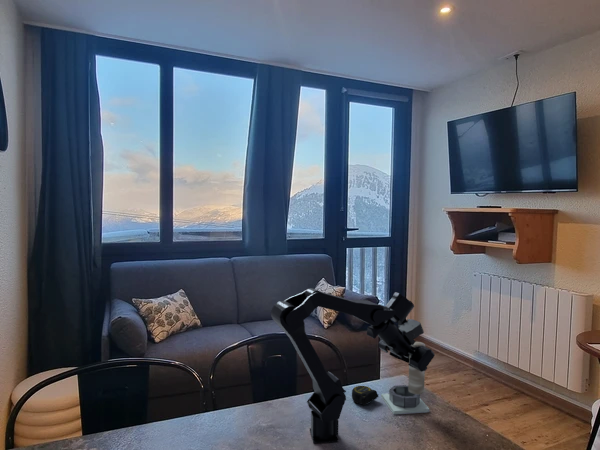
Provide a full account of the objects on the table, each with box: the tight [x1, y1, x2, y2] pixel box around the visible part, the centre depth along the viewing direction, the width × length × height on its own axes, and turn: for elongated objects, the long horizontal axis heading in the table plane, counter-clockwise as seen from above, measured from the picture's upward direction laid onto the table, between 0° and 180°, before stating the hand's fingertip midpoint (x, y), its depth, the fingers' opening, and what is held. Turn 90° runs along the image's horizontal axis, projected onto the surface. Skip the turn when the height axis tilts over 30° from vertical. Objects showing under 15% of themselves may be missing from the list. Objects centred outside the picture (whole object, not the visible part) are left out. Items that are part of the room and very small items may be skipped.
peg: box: [407, 341, 426, 395], centre depth 120 cm, size 4×4×14 cm
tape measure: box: [351, 385, 379, 406], centre depth 127 cm, size 7×7×4 cm
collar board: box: [380, 392, 430, 415], centre depth 125 cm, size 11×11×1 cm
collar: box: [388, 384, 421, 408], centre depth 125 cm, size 8×8×3 cm
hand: (420, 366), depth 120 cm, fingers closed on peg, 4 cm apart
